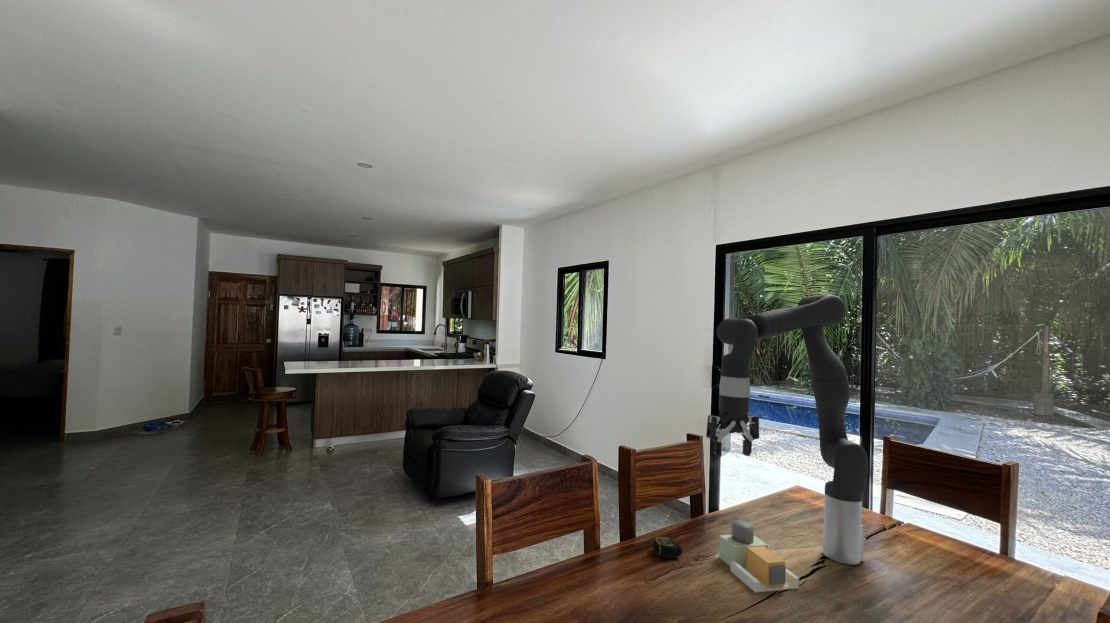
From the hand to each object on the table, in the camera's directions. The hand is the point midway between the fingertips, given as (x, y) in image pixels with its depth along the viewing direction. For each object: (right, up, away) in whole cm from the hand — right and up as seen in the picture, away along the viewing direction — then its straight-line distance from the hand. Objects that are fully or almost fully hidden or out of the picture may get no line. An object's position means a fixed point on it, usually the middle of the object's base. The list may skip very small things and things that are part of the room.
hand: (732, 455), depth 123 cm
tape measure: (-15, -30, +7) cm, 34 cm away
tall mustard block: (+7, -30, -4) cm, 31 cm away
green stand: (+6, -30, -1) cm, 31 cm away
